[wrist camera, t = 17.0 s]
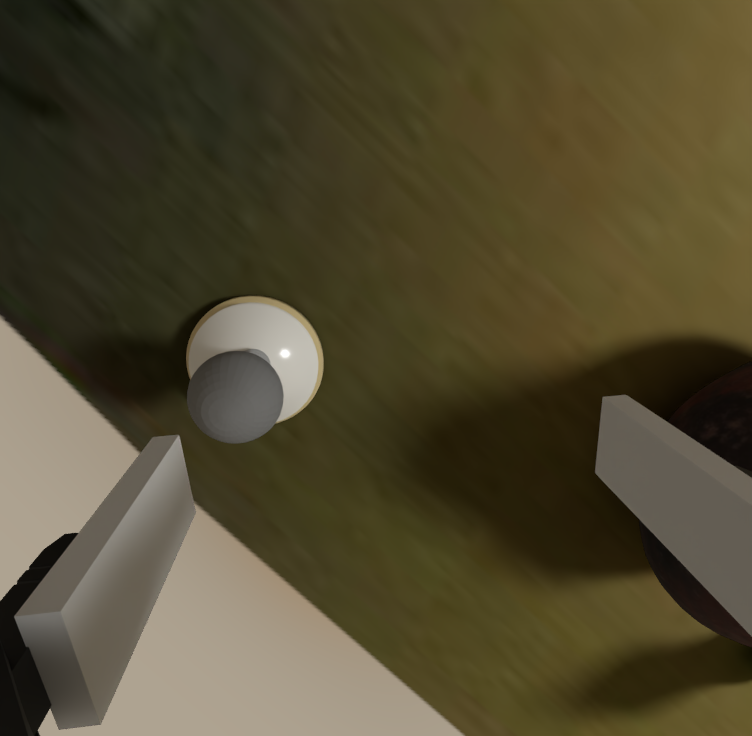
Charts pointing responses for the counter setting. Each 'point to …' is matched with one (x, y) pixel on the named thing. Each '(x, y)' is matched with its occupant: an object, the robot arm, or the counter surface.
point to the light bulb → (235, 396)
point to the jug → (739, 448)
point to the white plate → (263, 344)
